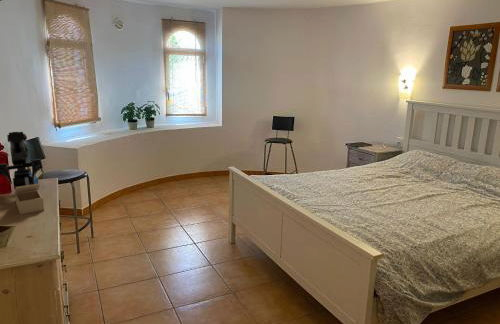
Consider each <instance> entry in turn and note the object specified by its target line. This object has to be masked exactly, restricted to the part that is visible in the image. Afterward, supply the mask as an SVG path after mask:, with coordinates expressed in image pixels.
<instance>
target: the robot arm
mask: <svg viewBox="0 0 500 324" xmlns="http://www.w3.org/2000/svg"><path fill="white" fill-rule="evenodd" d="M6 136H7V143H9V145H10V146H9V149H10V156H11V163H12V165H11V164H10V165H8V164H7V163H6V162H5V163H0V175H2V176H5V177H6V178H7V180H8V182H9V183H10V185H13V188H14V191H15V189H16V187H20V186H26V184H25V177H28V180H29V185H33V184H34V178H35V176H36V175H37V174H38V171H40V170H41V169H43V167H44V166H43V161H42V159H41V158H36V159H32V160H31V162H27V160H28V158H29V157H30V155H29V147H28V145H27V144H26V143H25V141H27V140H28V137H27V135H26V134H25V133H24V131H12V132H8V134H7V135H6ZM27 168H31V172H32V173H31V174H32V176H30V173H29V170H26V169H27ZM10 170H11V171H12V170H15V171H14V173H13V178H11V174H10ZM29 192H30V191H29ZM23 193H24V192H23ZM17 194H18V193H17Z"/></svg>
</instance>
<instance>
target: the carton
mask: <svg viewBox="0 0 500 324" xmlns="http://www.w3.org/2000/svg"><path fill="white" fill-rule="evenodd" d="M14 197H15V204H16V208H17V210H18V213H19V215H20V216H22V215H27V214H28V215H29V214H31V213H38V212H43V211H45V205H44V198H43V196H42V195H41V193H40V192H39V189H38V190H36V191H30V192H24V193H18V194H15V193H14Z"/></svg>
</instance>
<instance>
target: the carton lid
mask: <svg viewBox="0 0 500 324" xmlns="http://www.w3.org/2000/svg"><path fill="white" fill-rule="evenodd" d="M38 183H39V182H38ZM25 184H26V186H20V187H16V189H15V190H14V195H15V194H17V193H23V192H29V191H36V190H38V191H39V189H40V186H41V183H39V184H33V185H29V180H28V177H25Z"/></svg>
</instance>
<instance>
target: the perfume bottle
mask: <svg viewBox="0 0 500 324" xmlns="http://www.w3.org/2000/svg"><path fill="white" fill-rule="evenodd" d="M26 170H29V173H30V176H32V168H31V167H26ZM34 184H39V177H38V176H36V175H35V178H34Z"/></svg>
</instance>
